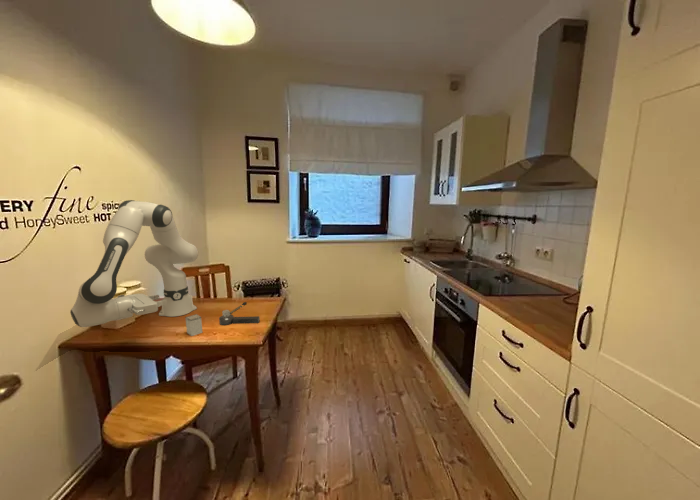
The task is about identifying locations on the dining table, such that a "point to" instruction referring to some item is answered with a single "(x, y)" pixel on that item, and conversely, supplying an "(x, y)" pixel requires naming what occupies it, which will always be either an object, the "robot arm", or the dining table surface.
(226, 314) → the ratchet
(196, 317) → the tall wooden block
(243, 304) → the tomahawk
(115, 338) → the dining table surface
